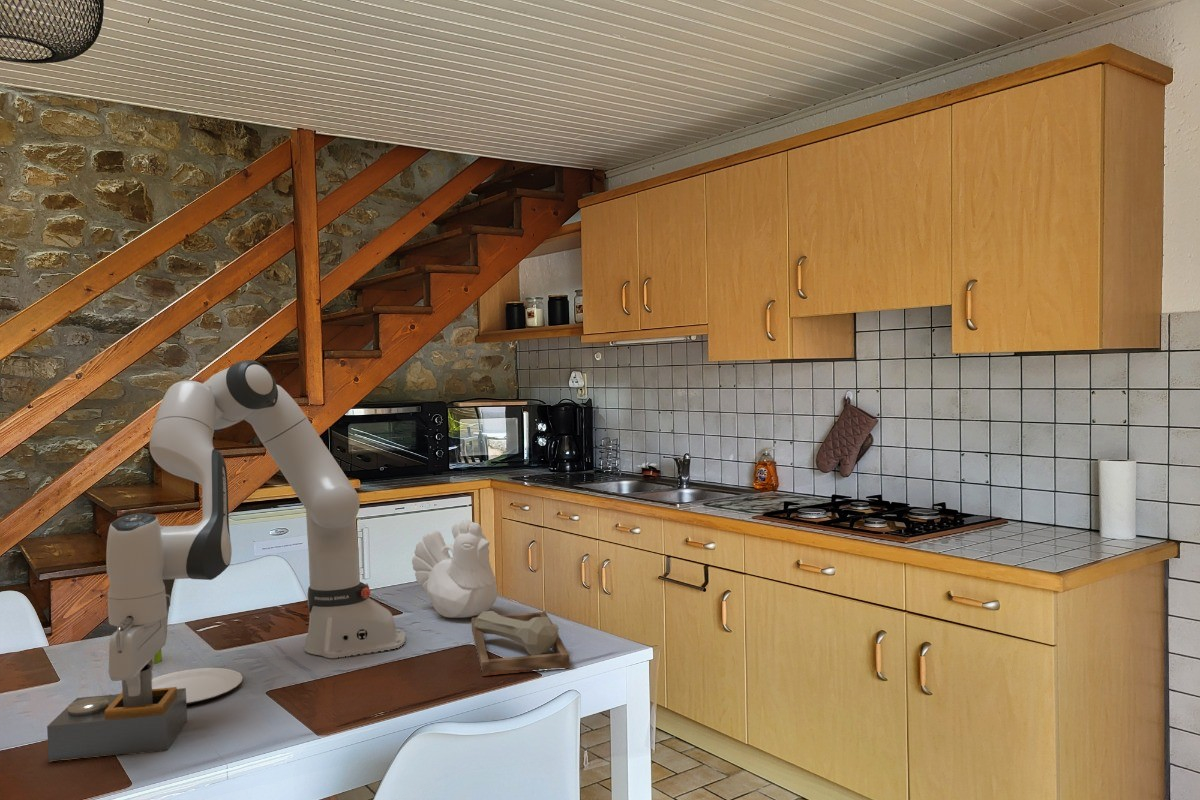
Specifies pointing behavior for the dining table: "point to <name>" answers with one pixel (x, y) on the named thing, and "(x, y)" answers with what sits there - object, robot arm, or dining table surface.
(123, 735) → the grey box with knob
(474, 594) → the decorative rooster
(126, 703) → the grey cylinder
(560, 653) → the candle surround
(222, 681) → the plate
